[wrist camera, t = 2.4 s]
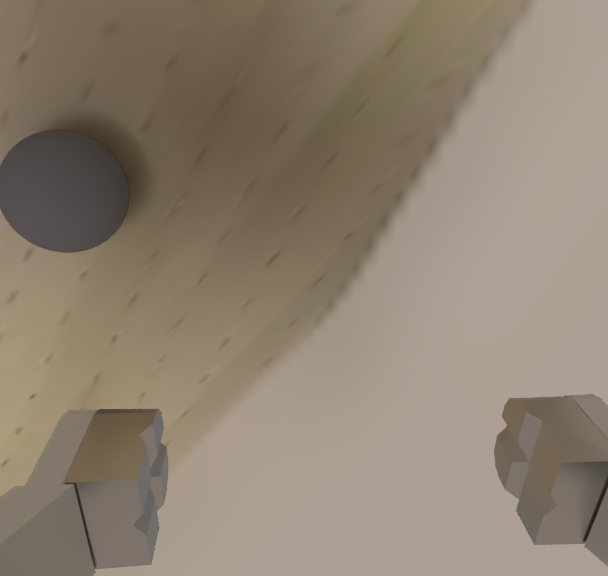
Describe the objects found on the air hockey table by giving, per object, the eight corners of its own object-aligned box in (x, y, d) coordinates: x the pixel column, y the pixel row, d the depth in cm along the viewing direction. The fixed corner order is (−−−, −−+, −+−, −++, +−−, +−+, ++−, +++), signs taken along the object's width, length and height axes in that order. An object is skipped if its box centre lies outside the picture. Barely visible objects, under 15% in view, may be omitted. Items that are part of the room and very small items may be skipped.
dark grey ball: (39, 228, 25) (-10, 272, 20) (15, 119, 22) (-46, 142, 18) (146, 228, 25) (120, 271, 21) (132, 121, 23) (101, 144, 18)
